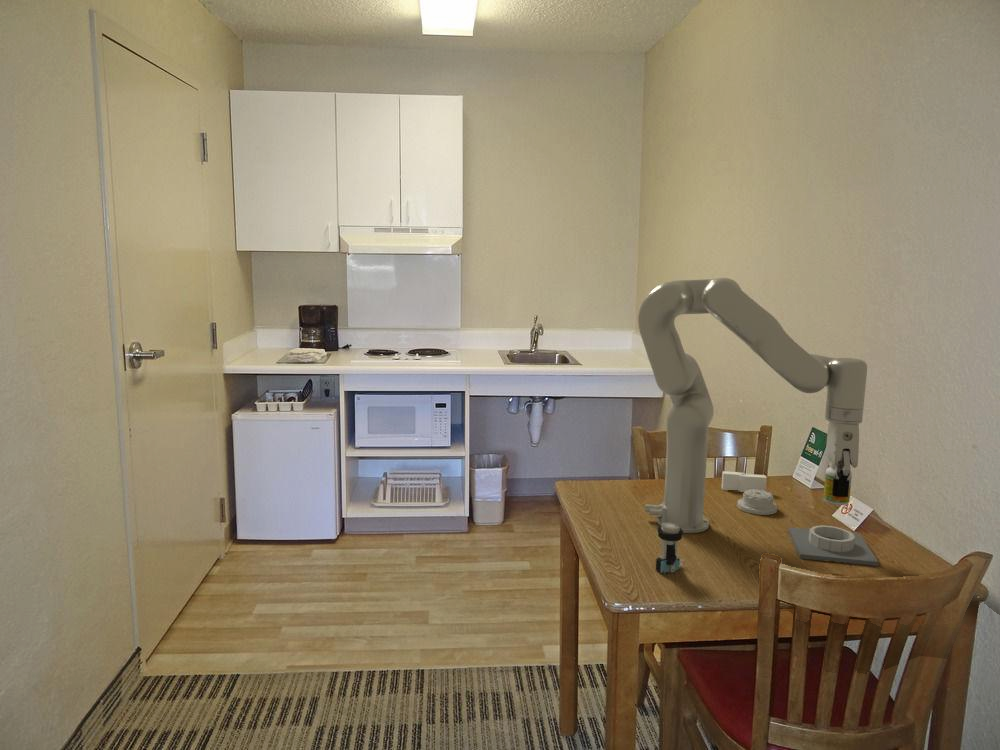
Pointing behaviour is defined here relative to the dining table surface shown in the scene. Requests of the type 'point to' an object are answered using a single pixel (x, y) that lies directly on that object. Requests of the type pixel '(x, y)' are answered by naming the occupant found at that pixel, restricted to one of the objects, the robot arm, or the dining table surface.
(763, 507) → the mechanical component
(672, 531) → the push button
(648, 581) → the dining table surface
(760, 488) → the napkin holder
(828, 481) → the supplement bottle
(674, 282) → the robot arm
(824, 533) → the ring plate
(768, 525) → the dining table surface
